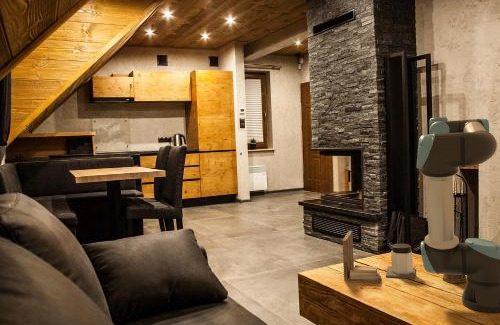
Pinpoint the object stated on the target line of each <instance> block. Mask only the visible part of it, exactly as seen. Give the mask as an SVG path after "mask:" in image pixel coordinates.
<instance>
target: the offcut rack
mask: <svg viewBox="0 0 500 325" xmlns="http://www.w3.org/2000/svg"><path fill="white" fill-rule="evenodd" d="M353 238H354V237H353V230H349V231H348V232H347V233H346V234H345V236H344V237H343V239H342V240H341V241H342V259H343V260H342V261H343V262H342V264H343V281H344V282H353V283H354V282H357V283H359V282H360V283H371V284H380V283H381V280H382V276H381V275H380V272H378V266H377V265H376V266H375V265H356V264H355V263H354V260H355V259H354V241H353V240H354V239H353ZM354 264H355V265H354Z"/></svg>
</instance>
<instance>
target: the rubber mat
mask: <svg viewBox="0 0 500 325" xmlns="http://www.w3.org/2000/svg"><path fill="white" fill-rule="evenodd" d="M385 278H393V279H409V280H411V279H412V280H415V279H416V267H413V272H412V273H410V274H408V275H405V274H396V273H394V272H393V271H392V265H391V266H390V265H388V266H387V269H386V273H385Z"/></svg>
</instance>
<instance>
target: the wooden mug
mask: <svg viewBox="0 0 500 325" xmlns="http://www.w3.org/2000/svg"><path fill="white" fill-rule="evenodd" d="M442 281H444V282H447V283H449V284H464V283H467V275H453V274H442Z"/></svg>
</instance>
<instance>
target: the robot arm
mask: <svg viewBox="0 0 500 325" xmlns="http://www.w3.org/2000/svg"><path fill="white" fill-rule="evenodd" d="M428 126H429V129H428V134H422V135H421V136H420V137H419V139H418V147H417V156H416V157H417V158H416V169H419V170H420V173H421V175H422V176H424V177H425V183H426V184H425V185H426V203H427V204H426V205H427V207H426V208H427V225H428V227H427V229H428V234H427V235H426V236H425V237H424V240H422V241H421V242H420V251H421V260H422V264H423V269H424V270H425V271H426V272H427V273H430V274H436V275H444V274H453V275H465V276H466V278H467V281H466V282H465V283H466V284H465V286H464V288H463V289H464V290H463V292H462V294H461V303H462V304H463V305H464V306H465V307H466V308H468V309H470V310H474V311H477V312H482V313H488V314H489V313H492V314H494V313H495V314H496V313H500V244H499V243H497V242H494V241H493V240H489V239H485V238H484V239H483V238H478V237H472V238H471V237H470V238H466V239H465V241H464V242H460V240H459V238H458V236H457V235H456V234H455V210H454V209H455V206H454V203H455V202H454V177H455V176H456V175H457V174H458V173H459V168H471V167H475V166H479V165H481V164H484V163H485V162H488V160H490V159H491V158H492V157H493V156H494V155H495V153H496V152H497V147H498V143H497V139H496V138H495V136H494V135H493V134H492V133H491V132H490V122H489V120H488V119H487V118H475V119H460V120H459V119H458V120H448V118H447V117H446V116H442V117H440V116H439V117H431V118H430V119H429V124H428Z"/></svg>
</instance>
